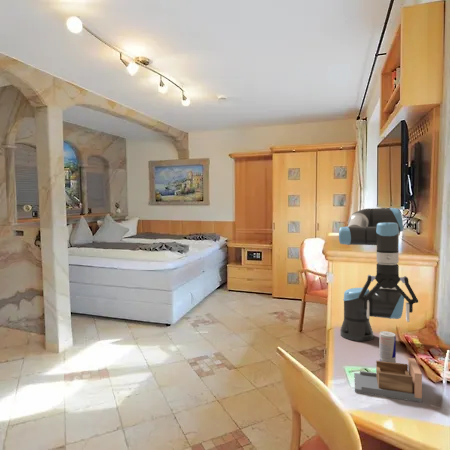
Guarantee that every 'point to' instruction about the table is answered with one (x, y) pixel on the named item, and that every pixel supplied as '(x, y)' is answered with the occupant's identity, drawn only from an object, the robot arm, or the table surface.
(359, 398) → the table surface
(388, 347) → the beverage can
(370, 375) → the board
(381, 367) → the open wooden box
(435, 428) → the table surface
